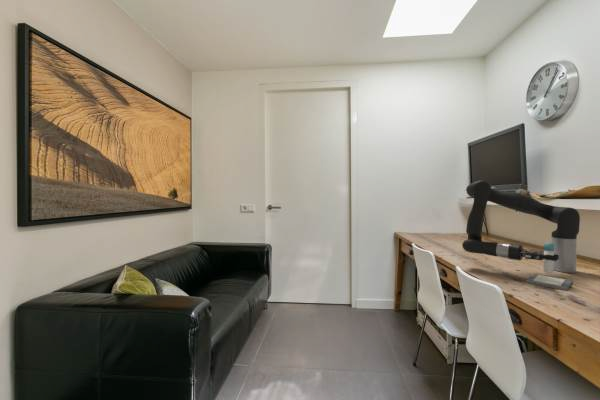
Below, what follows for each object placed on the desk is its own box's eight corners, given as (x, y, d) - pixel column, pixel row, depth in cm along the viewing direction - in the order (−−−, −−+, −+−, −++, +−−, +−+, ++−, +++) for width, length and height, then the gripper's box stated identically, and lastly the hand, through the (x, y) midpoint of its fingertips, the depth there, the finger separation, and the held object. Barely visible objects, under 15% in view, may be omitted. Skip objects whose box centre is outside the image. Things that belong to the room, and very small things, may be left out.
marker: (543, 270, 121) (544, 242, 121) (554, 272, 118) (555, 243, 118) (542, 271, 119) (543, 243, 118) (552, 273, 116) (553, 244, 116)
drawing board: (534, 275, 129) (534, 273, 129) (572, 282, 118) (572, 279, 118) (526, 282, 119) (526, 279, 119) (566, 290, 108) (566, 287, 108)
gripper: (505, 245, 125) (555, 251, 112) (513, 242, 134) (560, 247, 120) (504, 261, 125) (554, 269, 112) (513, 256, 134) (560, 263, 120)
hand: (557, 257), depth 116 cm, fingers closed on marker, 3 cm apart
